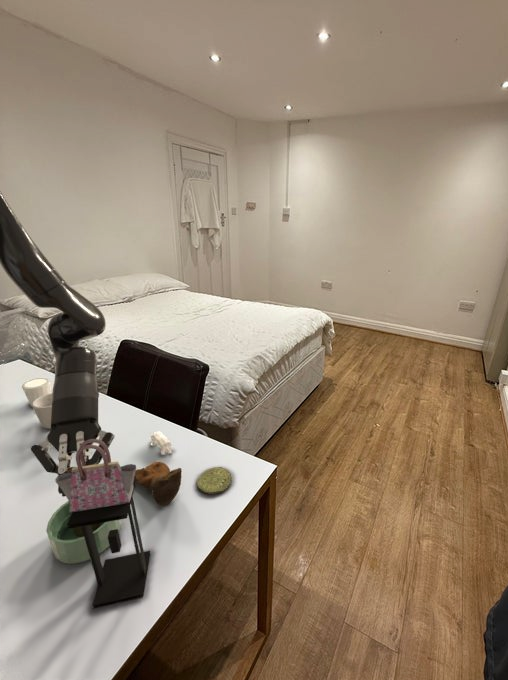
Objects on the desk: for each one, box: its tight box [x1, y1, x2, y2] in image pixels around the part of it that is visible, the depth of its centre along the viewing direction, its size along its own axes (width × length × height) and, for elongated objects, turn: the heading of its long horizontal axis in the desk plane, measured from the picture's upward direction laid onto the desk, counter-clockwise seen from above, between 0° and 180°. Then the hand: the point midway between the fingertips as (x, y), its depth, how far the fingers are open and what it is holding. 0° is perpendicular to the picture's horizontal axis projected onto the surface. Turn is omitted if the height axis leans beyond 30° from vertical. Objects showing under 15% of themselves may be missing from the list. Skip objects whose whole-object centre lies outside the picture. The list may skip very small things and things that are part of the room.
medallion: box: [196, 466, 233, 495], centre depth 76 cm, size 8×8×1 cm
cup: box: [31, 392, 52, 430], centre depth 93 cm, size 11×8×8 cm
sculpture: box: [135, 461, 183, 506], centre depth 72 cm, size 8×10×15 cm
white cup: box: [21, 377, 52, 407], centre depth 101 cm, size 7×7×7 cm
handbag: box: [54, 438, 151, 610], centre depth 50 cm, size 10×8×30 cm
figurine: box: [149, 430, 173, 456], centre depth 85 cm, size 2×8×5 cm, turn 50°
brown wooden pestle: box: [67, 466, 100, 537], centre depth 61 cm, size 4×4×15 cm
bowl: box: [46, 500, 122, 565], centre depth 62 cm, size 11×11×6 cm
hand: (73, 493), depth 57 cm, fingers closed on brown wooden pestle
